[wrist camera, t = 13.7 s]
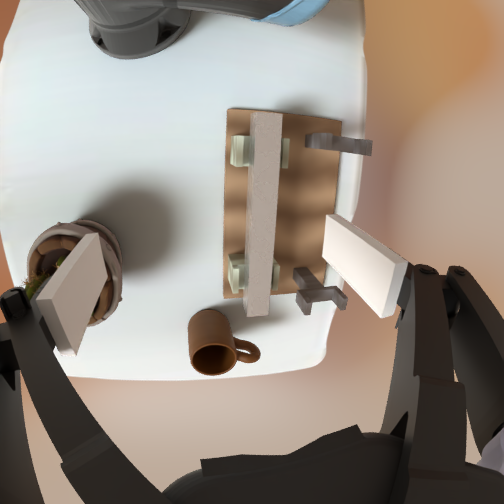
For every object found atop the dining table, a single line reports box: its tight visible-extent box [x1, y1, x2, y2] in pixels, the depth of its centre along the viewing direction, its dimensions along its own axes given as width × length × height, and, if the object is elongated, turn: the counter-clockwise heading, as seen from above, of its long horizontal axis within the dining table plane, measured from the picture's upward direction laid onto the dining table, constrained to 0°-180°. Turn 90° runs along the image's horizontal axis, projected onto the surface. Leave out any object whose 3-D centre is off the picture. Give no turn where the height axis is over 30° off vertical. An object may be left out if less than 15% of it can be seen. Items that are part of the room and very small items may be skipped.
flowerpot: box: [23, 219, 122, 327], centre depth 31 cm, size 14×15×20 cm
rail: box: [243, 112, 283, 317], centre depth 37 cm, size 28×3×3 cm, turn 177°
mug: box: [188, 310, 261, 376], centre depth 46 cm, size 12×8×9 cm, turn 75°
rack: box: [223, 109, 372, 315], centre depth 39 cm, size 30×18×12 cm, turn 177°
